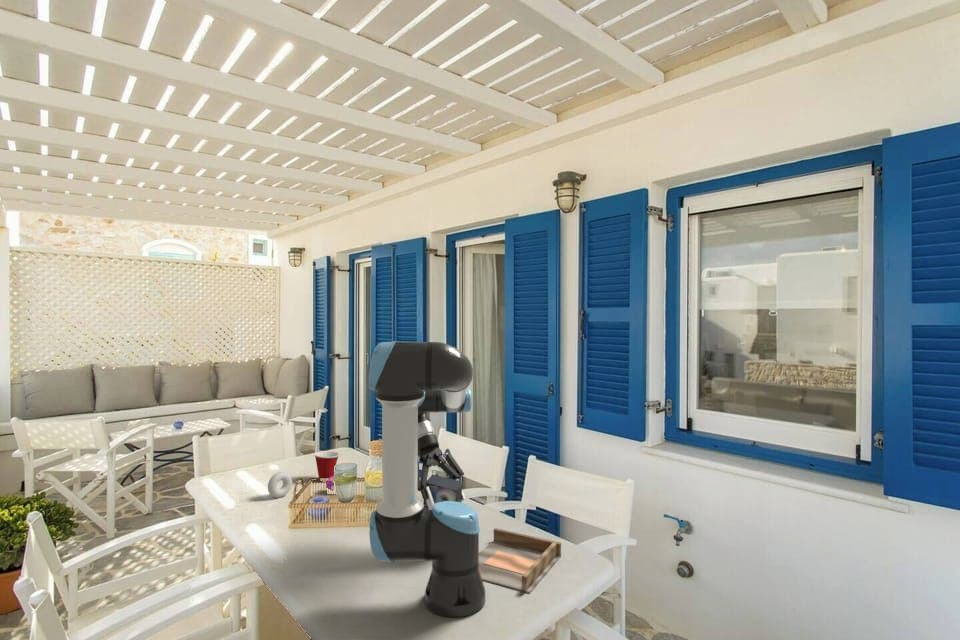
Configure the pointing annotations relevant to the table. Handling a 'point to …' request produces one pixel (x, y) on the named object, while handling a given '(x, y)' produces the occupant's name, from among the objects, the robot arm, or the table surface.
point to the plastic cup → (326, 463)
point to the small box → (444, 489)
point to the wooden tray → (517, 560)
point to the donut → (285, 488)
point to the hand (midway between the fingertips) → (448, 505)
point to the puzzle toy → (330, 484)
